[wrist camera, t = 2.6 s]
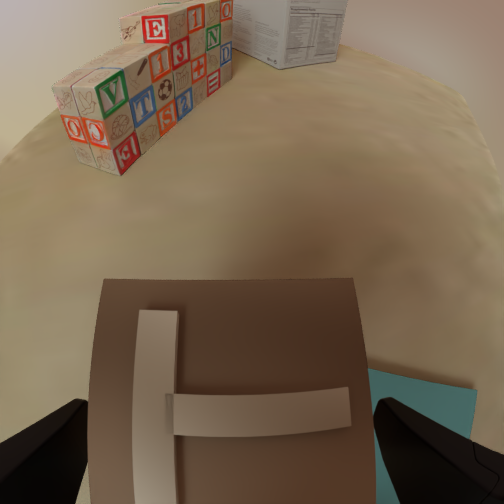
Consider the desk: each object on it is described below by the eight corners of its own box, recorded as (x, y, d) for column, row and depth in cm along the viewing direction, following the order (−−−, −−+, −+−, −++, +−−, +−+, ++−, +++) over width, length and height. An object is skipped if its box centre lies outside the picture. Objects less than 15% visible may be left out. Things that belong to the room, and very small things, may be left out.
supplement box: (337, 62, 41) (355, -27, 26) (279, 71, 36) (291, -39, 21) (286, 39, 46) (294, -38, 31) (228, 47, 42) (231, -42, 27)
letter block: (281, 454, 13) (379, 524, 3) (190, 455, 13) (88, 525, 3) (277, 372, 16) (356, 273, 6) (189, 372, 16) (100, 274, 5)
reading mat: (438, 520, 10) (443, 521, 9) (306, 519, 11) (308, 522, 10) (472, 391, 15) (477, 390, 14) (356, 368, 16) (360, 366, 16)
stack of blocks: (121, 179, 23) (83, 51, 13) (79, 164, 25) (39, 57, 14) (232, 79, 34) (234, -5, 24) (192, 73, 35) (189, -6, 25)
